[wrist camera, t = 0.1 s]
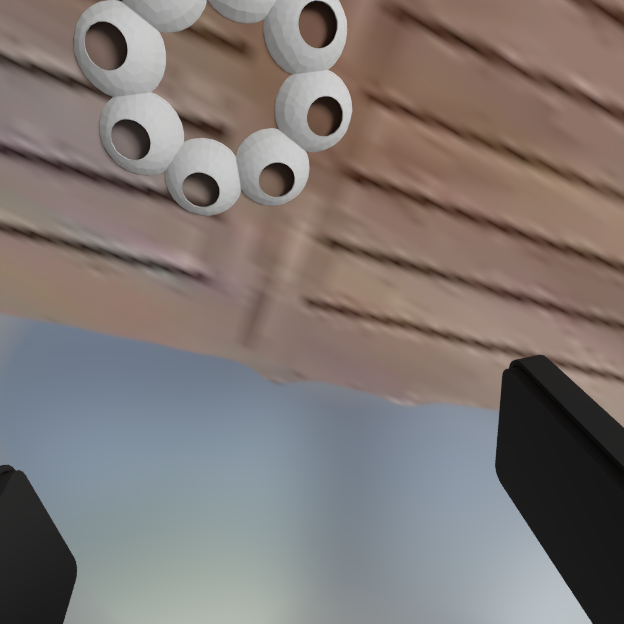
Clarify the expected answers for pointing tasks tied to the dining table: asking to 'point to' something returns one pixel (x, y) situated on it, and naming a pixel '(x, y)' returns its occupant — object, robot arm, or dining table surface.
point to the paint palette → (165, 122)
